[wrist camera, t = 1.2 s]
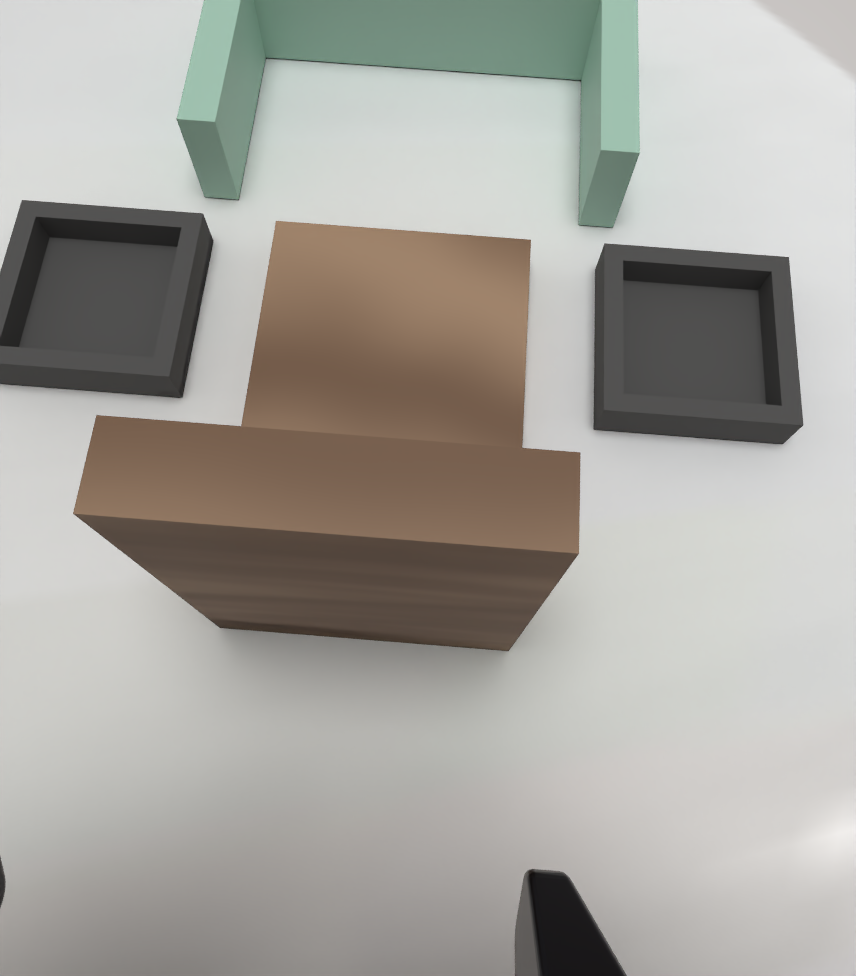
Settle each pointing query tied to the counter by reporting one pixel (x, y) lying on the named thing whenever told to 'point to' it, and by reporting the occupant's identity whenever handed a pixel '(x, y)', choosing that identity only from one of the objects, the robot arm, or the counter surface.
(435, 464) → the bookend
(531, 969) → the robot arm
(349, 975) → the counter surface
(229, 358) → the counter surface
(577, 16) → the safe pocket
